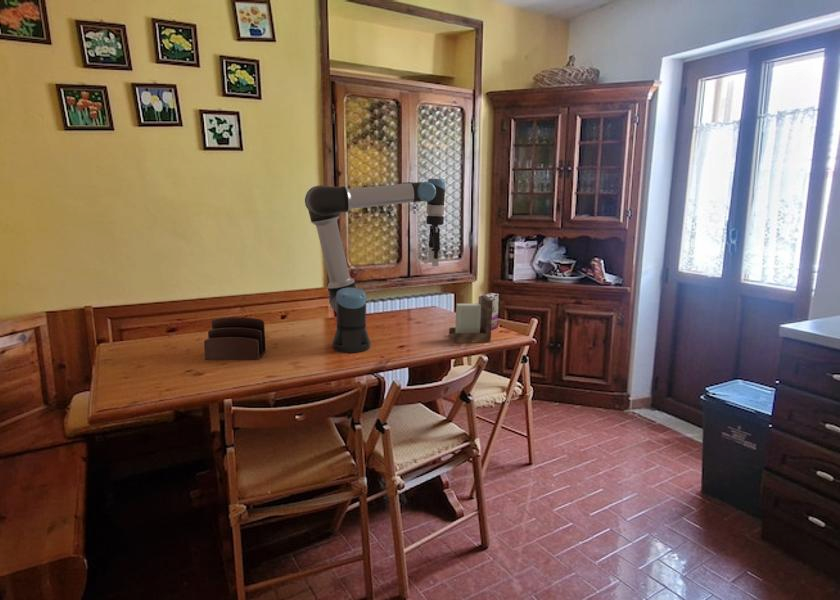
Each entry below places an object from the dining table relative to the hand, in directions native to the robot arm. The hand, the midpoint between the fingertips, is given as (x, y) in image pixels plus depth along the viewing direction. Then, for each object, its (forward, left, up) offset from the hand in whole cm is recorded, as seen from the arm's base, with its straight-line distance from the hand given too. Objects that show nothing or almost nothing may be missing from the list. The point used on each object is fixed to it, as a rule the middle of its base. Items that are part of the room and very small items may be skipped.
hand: (433, 264), depth 223 cm
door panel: (+14, -11, -30) cm, 35 cm away
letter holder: (-79, -29, -32) cm, 90 cm away
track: (+15, -11, -31) cm, 36 cm away
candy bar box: (+27, +4, -31) cm, 42 cm away
